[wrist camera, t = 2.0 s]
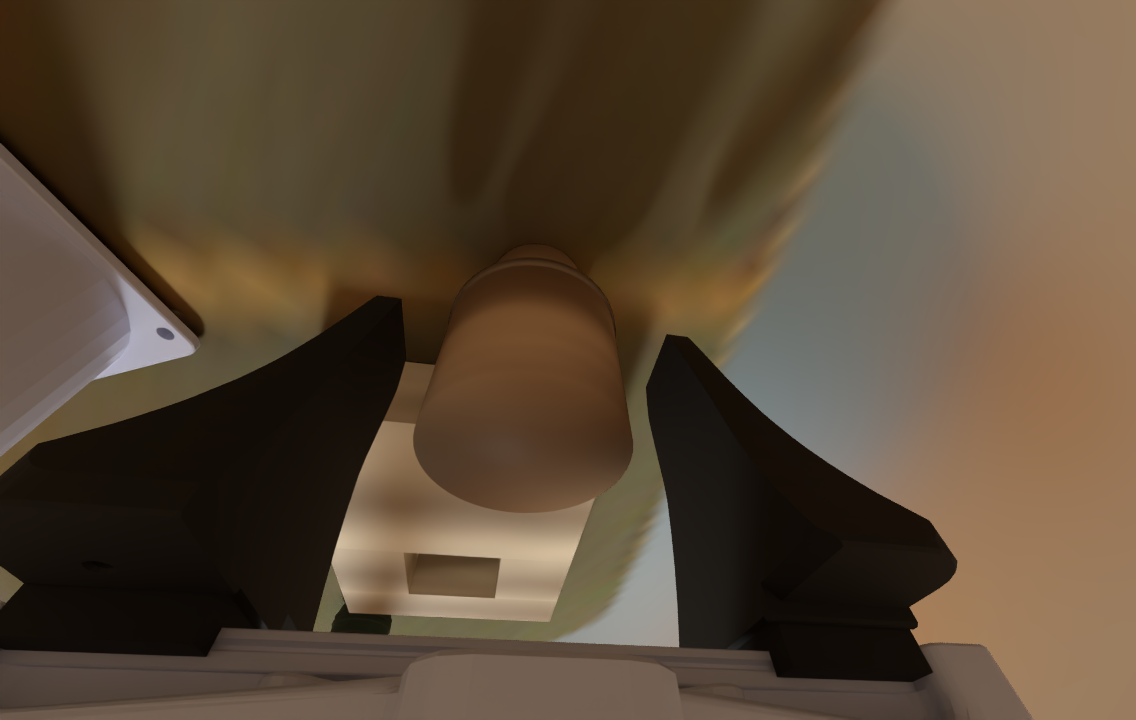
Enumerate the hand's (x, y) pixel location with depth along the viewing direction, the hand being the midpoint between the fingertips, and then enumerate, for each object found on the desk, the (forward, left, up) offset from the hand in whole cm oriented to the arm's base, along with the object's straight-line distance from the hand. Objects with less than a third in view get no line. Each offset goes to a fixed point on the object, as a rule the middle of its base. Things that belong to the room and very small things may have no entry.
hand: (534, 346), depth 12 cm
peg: (0, 0, -3) cm, 3 cm away
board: (+10, -7, -3) cm, 13 cm away
